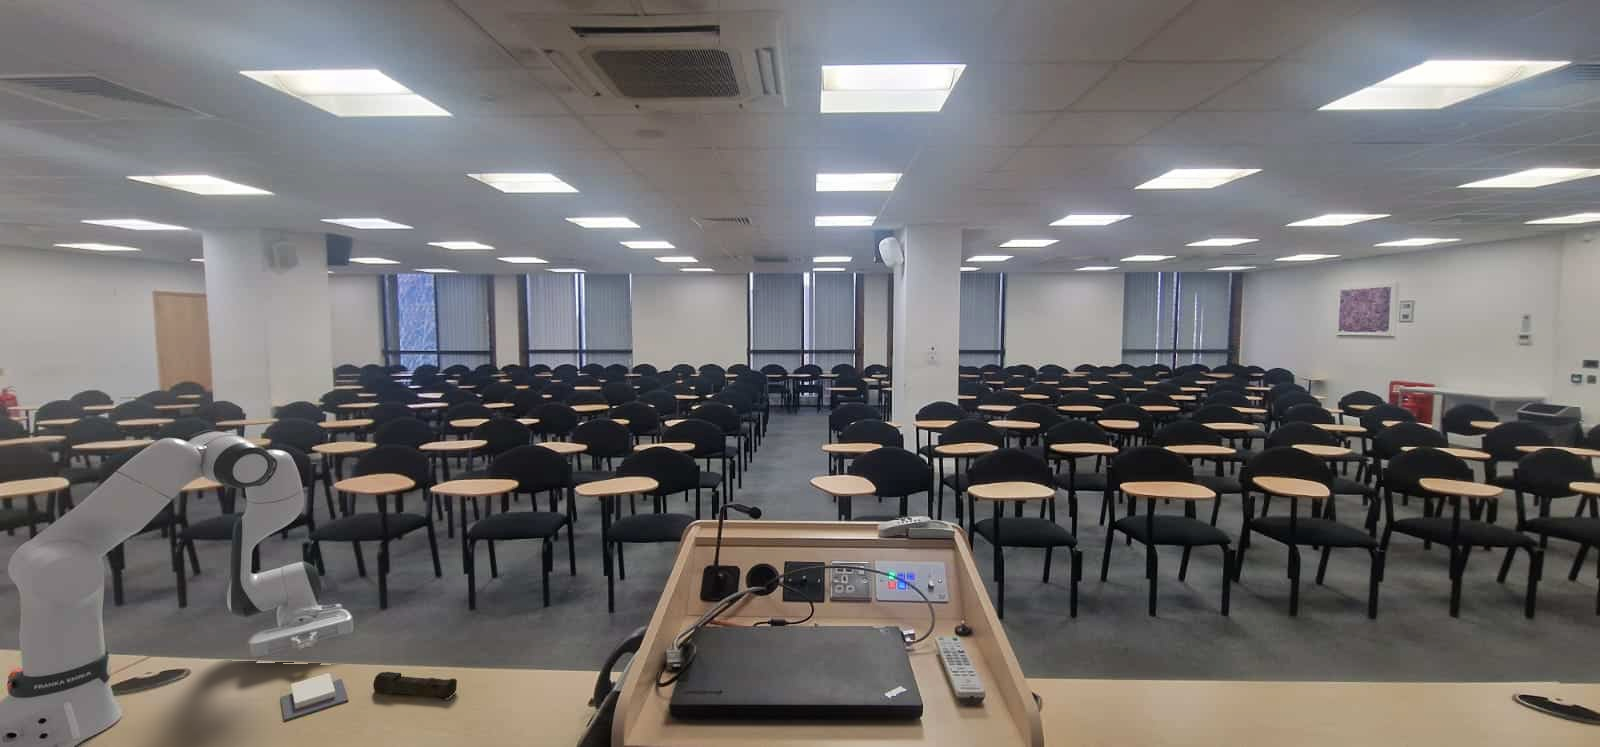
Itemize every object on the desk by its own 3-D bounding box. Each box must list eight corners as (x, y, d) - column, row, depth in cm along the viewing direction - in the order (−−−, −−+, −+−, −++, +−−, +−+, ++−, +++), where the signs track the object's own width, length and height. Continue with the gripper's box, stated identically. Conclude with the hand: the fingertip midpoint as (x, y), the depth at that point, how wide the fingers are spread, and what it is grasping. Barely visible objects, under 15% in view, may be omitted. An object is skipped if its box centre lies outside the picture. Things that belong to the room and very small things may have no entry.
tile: (291, 690, 146) (295, 710, 138) (291, 684, 146) (294, 703, 138) (329, 679, 151) (335, 697, 143) (329, 672, 150) (335, 691, 143)
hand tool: (459, 692, 146) (458, 672, 146) (446, 703, 142) (445, 682, 142) (384, 685, 149) (383, 666, 149) (369, 695, 145) (368, 675, 145)
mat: (284, 721, 135) (284, 719, 135) (280, 698, 143) (280, 697, 143) (348, 701, 142) (348, 699, 142) (341, 680, 151) (341, 678, 151)
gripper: (246, 625, 159) (247, 647, 149) (347, 601, 172) (355, 619, 162) (248, 650, 160) (249, 673, 149) (349, 624, 173) (357, 644, 163)
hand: (305, 645), depth 156 cm, fingers closed
